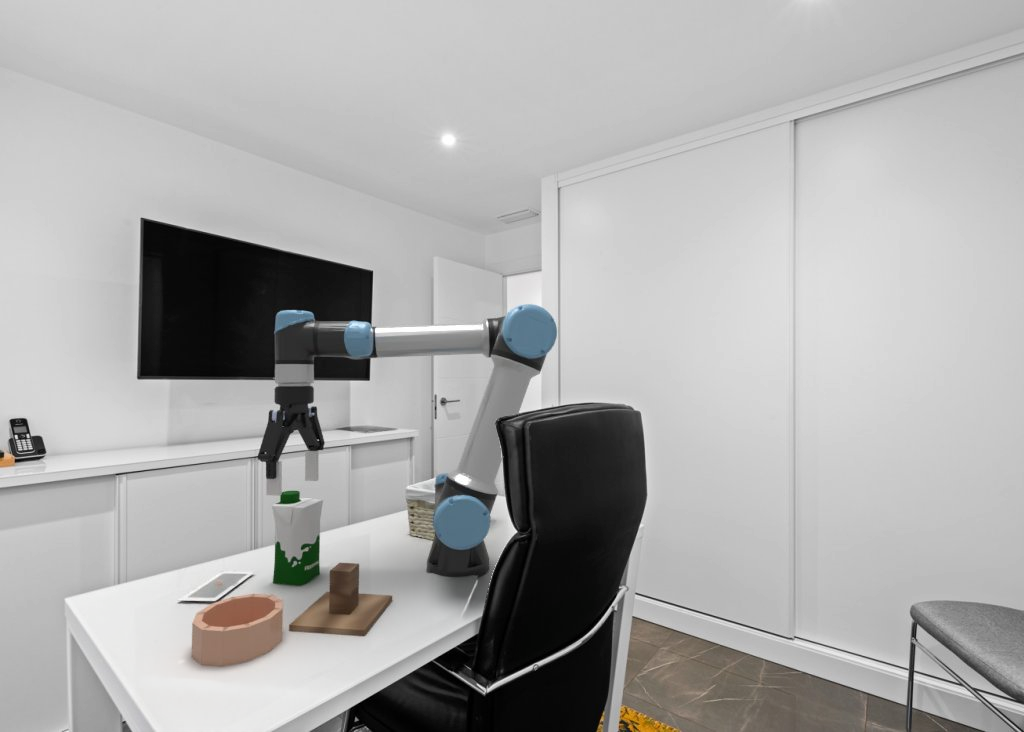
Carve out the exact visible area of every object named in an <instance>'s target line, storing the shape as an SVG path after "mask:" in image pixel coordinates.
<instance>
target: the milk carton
mask: <svg viewBox="0 0 1024 732" xmlns="http://www.w3.org/2000/svg"><path fill="white" fill-rule="evenodd" d="M300 495H301V493H300V491H299V490H286V491H282V495H280V496H279V497H280V498H279V500H280V501H279V502H276V503H275V504H272V505H271V507H272V508H271V509H272V513H273V518H274V523H275V524H274V525H275V526H274V527H275V530H274V532H275V533H274V535H275V536H274V537H275V538H274V565H273V566H274V567H273V576H272V578H273V579H272V584H277V585H285V586H287V585H288V586H295V587H302V586H305V585H306V584H308V583H309V582H311V581H313V580H314V579H316V578H317V577H318V576H319V575H320V574H321V573H320V572H321V571H320V547H321V545H320V543H321V542H320V541H321V539H320V538H321V517H322V516H321V515H322V509H323V502H324V499H316V498H313V497H312V498H311V497H309V498H308V497H307V498H305V497H300Z"/></svg>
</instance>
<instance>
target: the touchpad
mask: <svg viewBox="0 0 1024 732" xmlns="http://www.w3.org/2000/svg"><path fill="white" fill-rule="evenodd" d="M255 573H256V571H220V572H219V573H217V574H215V575H214V576H212V577H211V578H209V579H208V580H206V581H205V582H204V583H202V584H201V585H199V586H197V587H195V588H194V589H192V590H191V591H190V592H188V593H187V594H184V595H183V596H181V597H180V598H179V599H177V601H181V602H182V601H183V602H184V601H185V602H186V601H187V602H188V601H189V602H190V601H191V602H217V601H218V600H219V599H220V598H222V597H223V596H224V595H226V594H227V593H229V592H230V591H231V590H233V589H234V588H235V587H237V586H238V585H239V584H241V583H243V581H245V580H247V579H248V578H249V577H250V576H252V575H253V574H255Z"/></svg>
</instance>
